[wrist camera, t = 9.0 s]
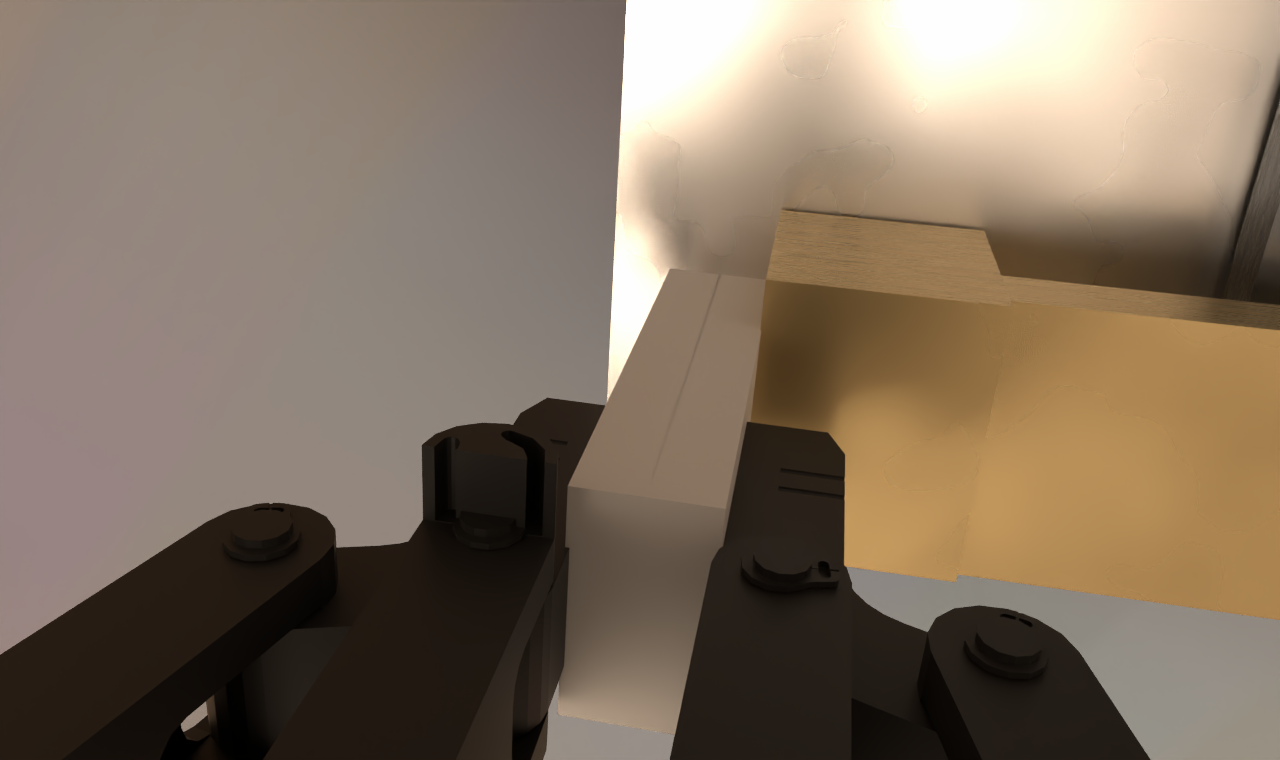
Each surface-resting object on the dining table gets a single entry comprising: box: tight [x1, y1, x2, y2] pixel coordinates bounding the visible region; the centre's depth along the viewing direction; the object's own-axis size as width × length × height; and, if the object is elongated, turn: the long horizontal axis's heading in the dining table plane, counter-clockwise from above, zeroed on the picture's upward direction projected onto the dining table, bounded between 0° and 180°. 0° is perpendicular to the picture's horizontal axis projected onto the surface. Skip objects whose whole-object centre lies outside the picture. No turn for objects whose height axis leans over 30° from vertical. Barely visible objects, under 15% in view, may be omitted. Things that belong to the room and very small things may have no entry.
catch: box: [750, 210, 1280, 620], centre depth 16 cm, size 4×8×3 cm, turn 87°
